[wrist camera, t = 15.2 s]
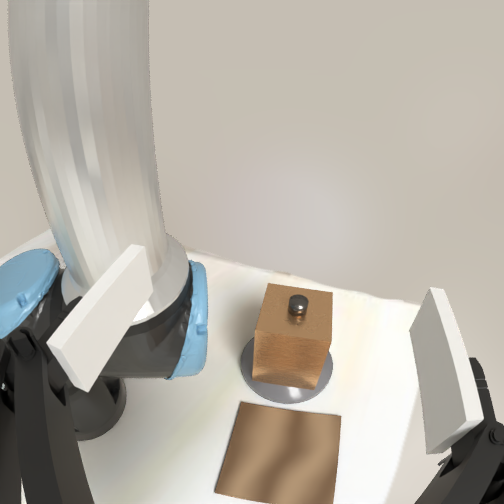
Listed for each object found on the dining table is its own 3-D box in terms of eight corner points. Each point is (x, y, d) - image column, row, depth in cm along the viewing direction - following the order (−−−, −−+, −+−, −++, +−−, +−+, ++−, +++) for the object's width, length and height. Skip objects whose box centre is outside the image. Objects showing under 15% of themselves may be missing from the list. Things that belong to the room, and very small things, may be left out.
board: (215, 492, 27) (214, 492, 27) (241, 403, 39) (241, 401, 38) (331, 509, 25) (332, 508, 25) (340, 417, 36) (341, 415, 36)
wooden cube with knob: (252, 380, 41) (255, 320, 34) (263, 335, 48) (268, 273, 41) (314, 390, 39) (334, 332, 33) (318, 343, 47) (334, 283, 40)
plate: (222, 371, 43) (221, 367, 43) (274, 320, 53) (275, 316, 52) (301, 420, 36) (303, 417, 36) (345, 355, 46) (347, 352, 45)
